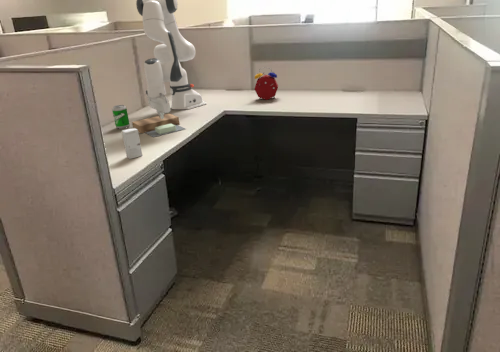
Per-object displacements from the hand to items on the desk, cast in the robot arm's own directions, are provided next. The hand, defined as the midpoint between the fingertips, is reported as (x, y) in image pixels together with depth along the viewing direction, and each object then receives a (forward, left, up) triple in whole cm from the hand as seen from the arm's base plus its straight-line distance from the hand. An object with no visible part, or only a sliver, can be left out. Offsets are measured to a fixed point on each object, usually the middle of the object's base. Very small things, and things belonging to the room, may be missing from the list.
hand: (161, 118), depth 218 cm
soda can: (+14, -23, -6) cm, 28 cm away
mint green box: (0, +4, -5) cm, 6 cm away
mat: (0, +3, -6) cm, 7 cm away
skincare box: (+26, +29, -6) cm, 40 cm away
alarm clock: (-76, -11, -6) cm, 77 cm away
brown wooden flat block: (0, -9, -6) cm, 11 cm away
